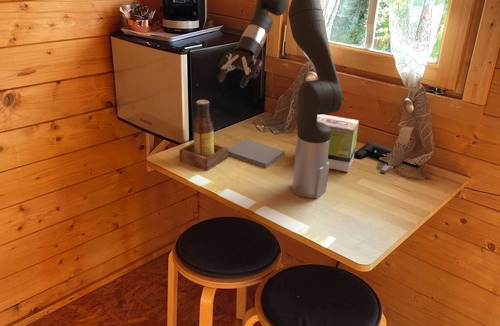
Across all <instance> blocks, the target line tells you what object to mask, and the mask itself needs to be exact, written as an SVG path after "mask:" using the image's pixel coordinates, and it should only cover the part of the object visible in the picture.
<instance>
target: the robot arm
mask: <svg viewBox="0 0 500 326" xmlns="http://www.w3.org/2000/svg"><path fill="white" fill-rule="evenodd" d="M288 5H289V0H256V4H255V9H254V12H253V15H252V18H251V20H250V21H249V23H248V25H247V27H246V28H245V29H244V31H243V33H242V34H241V37H240V38H239V39H240V40H239V41H238V43H237V45H236V47H235V51H234V52H233V53H230V52H229V51H224V53H223V56H222V57H221V59H220V60H219V62H218V64H217V66H218V67H219V69H220V72H219V73H218V75H217V80H218V81H219V82H220V83H223V82H224V80H225V78H226V76H227V74H228V72H230V71H233V70H235V69H236V70H241V71H244V73H245V74H244V75H243V77H242V78H241V81H240V82H239V86H240V88H241V89H244V88H246V86H248V83H249V81H250V80H251V79H253V78H254V79H257V78H258V76H259V74H260V71H261V70H262V69H261V68H262V67H263V61H262V60H261V59H260V58H258V56H259V54H260V52H261V51H262V48H263V46H264V44H265V42H266V40H267V37H268V34H269V32H270V30H271V29H272V27H273V23H274V20H273V18H272V17H271V16H270V15H269V13H270V14H271V15H274V16H278V17H280V16H282V15H283V14H284V13H286V11H287V9H288V14H287V15H288V20H289V26H290V31H291V35H292V38H293V40H294V42H295V43H296V44H297V46H298V47H299V48H300V50H302V52H303V53H304V54H305V56H306V57H307V58H308V59H309V60H310V62H311V63H312V65H313V67H314V69H315V72H316V76H317V78H318V79H313V80H307V81H303V82H302V83H301V85H300V87H299V89H298V93H297V106H296V107H297V109H296V128H297V129H296V130H297V136H296V144H295V145H296V146H295V155H294V164H293V171H292V172H293V173H292V184H291V190H292V192H293V193H294V194H296V195H297V196H300V197H301V198H302V197H303V198H309V199H315V200H316V199H319V198H321V196H322V195H323V194H324V193H326V191H327V187H328V186H327V184H328V178H329V170H330V168H329V165H330V162H328V161H327V160H328V152H329V145H330V138H331V129H330V127H329V126H327V125H326V124H324V123H321V122H318V121H317V115H321V114H324V115H328V114H329V115H330V114H333V113H337V112H339V111H340V110H341V108H342V105H343V90H342V87H341V86H342V85H341V83H340V79H339V76H338V73H337V69H336V66H335V62H334V59H333V57H332V52H331V49H330V48H331V47H330V43H329V39H328V34H327V27H326V22H325V17H324V12H323V11H324V10H323V8H322V4H321V0H291V2H290V5H289V8H288ZM267 12H268V13H267ZM252 66H253V67H252ZM251 67H252V70H251Z"/></svg>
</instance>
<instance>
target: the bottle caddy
mask: <svg viewBox="0 0 500 326" xmlns="http://www.w3.org/2000/svg"><path fill="white" fill-rule="evenodd" d="M228 148H229V147H228V146H224V145H221V144H218V143H216V142H214V153H213V154H212V155H210V156H208V157H204V156H201V155H198V154H195V146H194V142H192V143H190V144H188V145H186V146H184V147H182V148H180V149H179V161H180V162H182V163H184V164H187V165H190V166H192V167H196V168H198V169H201V170H203V171H207V172H208V171H209V170H211V169H213V168H215V167H216V166H217V165H219V164H221V163H222V162H225V161H226V160H227V159H228V157H229V156H228Z"/></svg>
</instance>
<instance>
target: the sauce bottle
mask: <svg viewBox="0 0 500 326" xmlns="http://www.w3.org/2000/svg"><path fill="white" fill-rule="evenodd" d="M195 106H196V117H195V118H194V120H193V143H194V146H195V154H198V155H201V156H204V157H208V156H210V155H212V154H213V153H214V143H215V134H214V125H213V122H212V120H211V116H210V101H209V100H206V99H199V100H197V101H196V102H195Z"/></svg>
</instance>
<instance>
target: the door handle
mask: <svg viewBox="0 0 500 326" xmlns="http://www.w3.org/2000/svg"><path fill="white" fill-rule="evenodd" d="M393 149H394V148H390V147H387V146H384V145H382V144H379V143H376V142H373V141H367V142H366V143H365V144H364V145H363V146H361V147H360V148H359V149H357V150H355V153H354V158H356V159H359V160H363V159H364V158H365V157H368V156H369V157H368V158H371V157H372V159H374V158H375V160H377V159H379V158H380V157H387V156H384V155H382V154H387V153H391V152H392V150H393ZM390 167H391V166H387V165H386V164H385V165H384V166H382V167H380V169H379V173H380V172H381V174H383V173H384V175H385V174H387V173H388V172H390V171H391V170H390ZM389 170H390V171H389ZM386 172H387V173H386Z"/></svg>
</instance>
